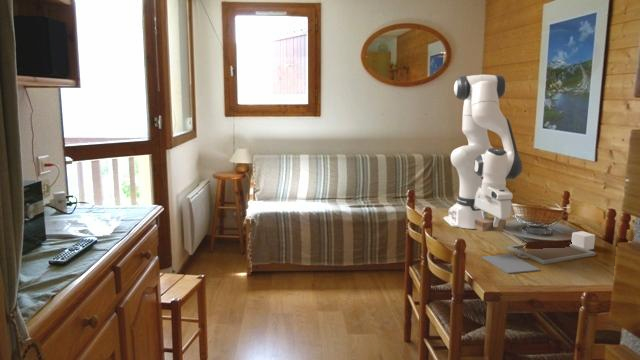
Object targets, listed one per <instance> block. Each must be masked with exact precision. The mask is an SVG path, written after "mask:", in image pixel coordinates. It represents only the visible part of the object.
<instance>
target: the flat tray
mask: <svg viewBox="0 0 640 360" xmlns="http://www.w3.org/2000/svg"><path fill="white" fill-rule="evenodd" d="M525 244H526V243H523V244H522V243H521V244H516V245H507V247H506V250H508V249H509V251H510V250H511V252H513V251H514V252H513V253H515V252H516V253H515V254H517V253H518V254H517V256H516V257H518V258H520V257H522V258H521V259H528V258H530V260H532V261H534V260H535V261H534V262H537V263H539V264H542V265H546V264H553V263H559V262H565V261H571V260H577V259H581V258H582V259H583V258H587V257H594V256H597V252H595V251H593V250H591V249H590V250H587V249H584V248H581V247H578V246H575V245H573V244H571V243H570V245H569V246H570V247H565V248H543V249H528V250H527V249H526V250H527V251H526V250H525V249H524V248H523V247H524V246H525ZM516 248H517V249H516ZM525 251H526V252H525Z"/></svg>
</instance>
